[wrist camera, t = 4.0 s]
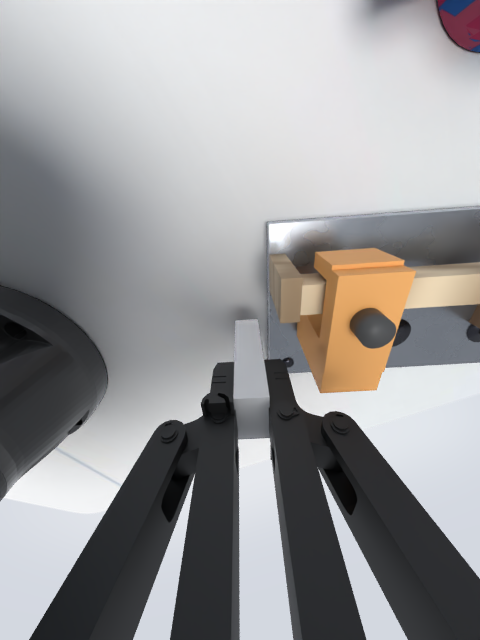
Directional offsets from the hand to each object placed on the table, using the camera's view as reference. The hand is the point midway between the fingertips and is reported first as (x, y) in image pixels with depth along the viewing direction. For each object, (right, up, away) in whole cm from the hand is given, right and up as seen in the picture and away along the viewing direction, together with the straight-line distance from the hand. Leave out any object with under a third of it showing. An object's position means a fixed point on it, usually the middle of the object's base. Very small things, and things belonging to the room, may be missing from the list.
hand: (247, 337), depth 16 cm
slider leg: (+5, +3, 0) cm, 6 cm away
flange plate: (+12, +3, +2) cm, 12 cm away
